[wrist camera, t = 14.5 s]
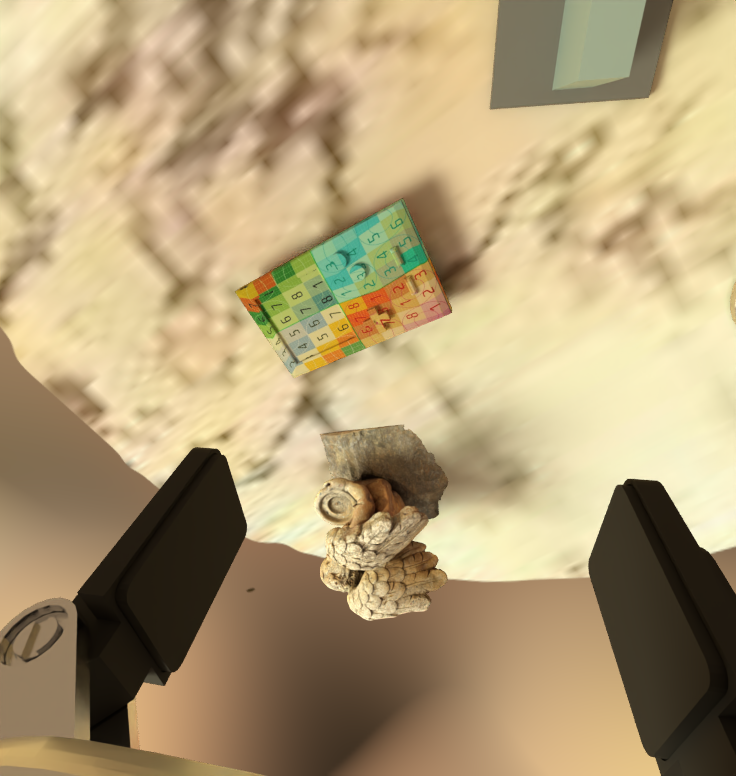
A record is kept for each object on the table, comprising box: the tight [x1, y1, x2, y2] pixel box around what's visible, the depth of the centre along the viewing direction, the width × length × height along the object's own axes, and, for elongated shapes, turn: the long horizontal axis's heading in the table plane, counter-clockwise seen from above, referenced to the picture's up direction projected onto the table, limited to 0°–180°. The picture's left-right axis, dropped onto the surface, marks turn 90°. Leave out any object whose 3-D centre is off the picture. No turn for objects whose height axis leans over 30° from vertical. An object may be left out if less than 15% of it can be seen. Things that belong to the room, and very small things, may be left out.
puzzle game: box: [235, 198, 452, 378], centre depth 44 cm, size 12×5×20 cm
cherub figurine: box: [314, 425, 448, 620], centre depth 52 cm, size 18×18×18 cm
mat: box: [490, 0, 673, 109], centre depth 30 cm, size 12×12×1 cm
